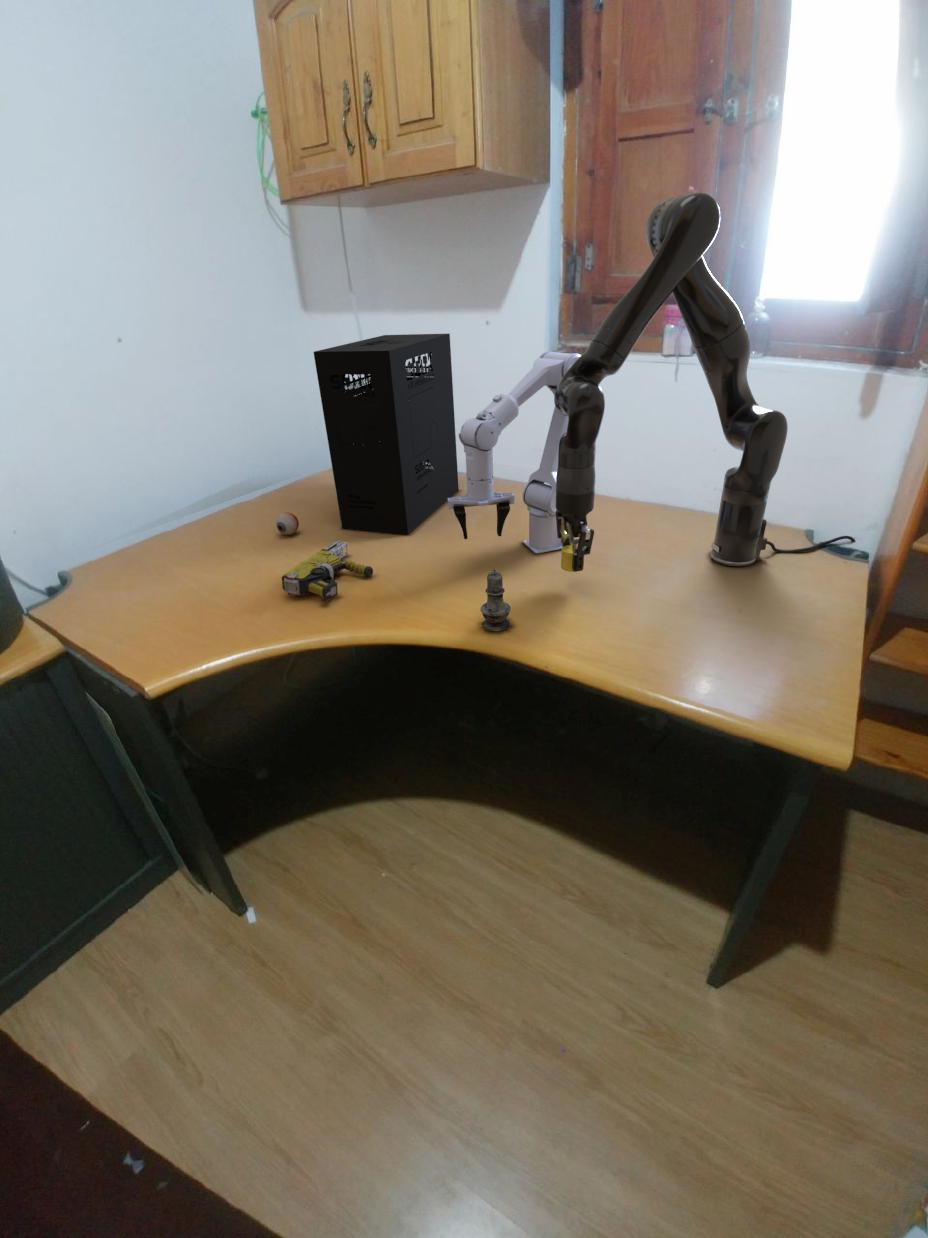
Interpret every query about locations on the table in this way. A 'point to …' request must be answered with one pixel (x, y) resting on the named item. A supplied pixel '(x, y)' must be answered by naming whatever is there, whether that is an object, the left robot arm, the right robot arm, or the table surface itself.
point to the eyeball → (287, 523)
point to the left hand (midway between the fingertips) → (482, 536)
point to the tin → (567, 558)
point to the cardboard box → (390, 429)
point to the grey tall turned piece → (495, 604)
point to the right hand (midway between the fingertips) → (572, 565)
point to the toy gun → (321, 572)
